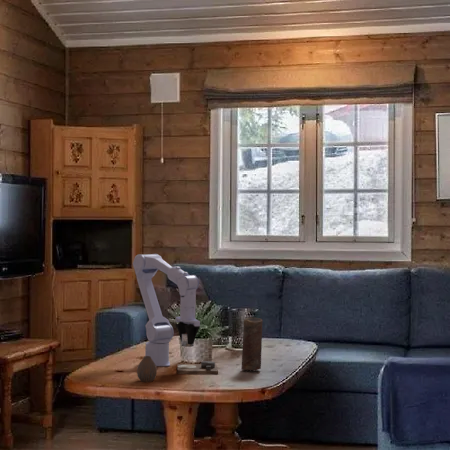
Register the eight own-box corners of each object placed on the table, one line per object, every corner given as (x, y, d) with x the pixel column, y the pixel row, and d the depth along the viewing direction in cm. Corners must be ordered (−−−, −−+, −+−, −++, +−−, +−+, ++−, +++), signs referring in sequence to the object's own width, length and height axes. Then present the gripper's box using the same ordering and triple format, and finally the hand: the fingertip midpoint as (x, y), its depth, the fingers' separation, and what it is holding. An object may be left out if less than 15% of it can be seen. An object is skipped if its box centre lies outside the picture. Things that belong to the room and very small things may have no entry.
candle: (263, 370, 346) (264, 317, 345) (258, 373, 339) (259, 320, 338) (244, 368, 348) (245, 316, 348) (238, 371, 341) (239, 318, 341)
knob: (179, 345, 343) (179, 332, 343) (189, 344, 345) (190, 332, 345) (185, 346, 339) (185, 334, 339) (195, 346, 341) (196, 333, 341)
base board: (177, 373, 335) (177, 365, 335) (177, 367, 349) (177, 358, 349) (218, 374, 336) (218, 365, 336) (216, 367, 350) (216, 359, 350)
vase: (137, 379, 323) (137, 354, 323) (156, 379, 324) (156, 354, 324) (136, 383, 316) (137, 358, 316) (156, 383, 317) (157, 358, 317)
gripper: (169, 305, 345) (168, 341, 346) (188, 309, 333) (188, 346, 334) (185, 305, 349) (184, 340, 350) (204, 308, 337) (204, 345, 337)
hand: (187, 343), depth 342 cm, fingers closed on knob, 5 cm apart
